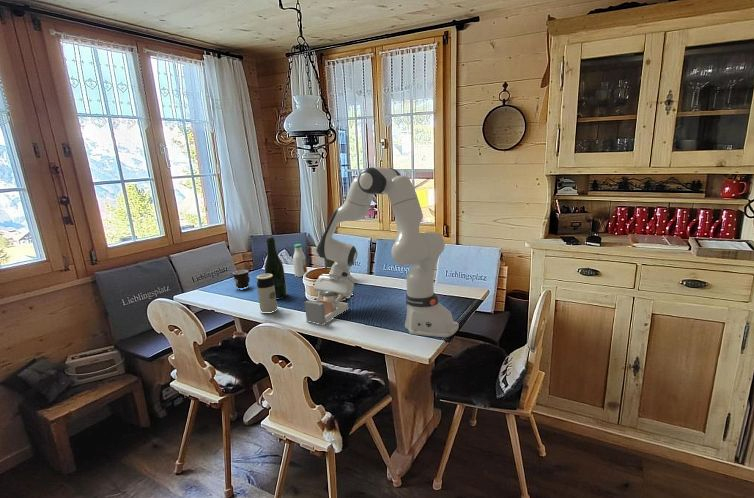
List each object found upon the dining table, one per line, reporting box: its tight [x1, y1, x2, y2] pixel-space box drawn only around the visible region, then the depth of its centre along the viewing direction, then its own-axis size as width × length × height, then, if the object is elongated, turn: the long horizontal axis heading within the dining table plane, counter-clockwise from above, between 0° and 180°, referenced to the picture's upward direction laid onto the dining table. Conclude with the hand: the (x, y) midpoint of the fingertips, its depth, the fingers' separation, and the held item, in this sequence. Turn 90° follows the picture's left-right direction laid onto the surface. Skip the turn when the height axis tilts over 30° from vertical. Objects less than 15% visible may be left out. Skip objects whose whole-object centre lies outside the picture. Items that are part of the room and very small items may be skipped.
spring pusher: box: [317, 299, 333, 315], centre depth 185 cm, size 7×1×7 cm, turn 59°
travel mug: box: [256, 273, 278, 312], centre depth 195 cm, size 8×8×18 cm
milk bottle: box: [292, 243, 308, 278], centre depth 251 cm, size 8×8×20 cm
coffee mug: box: [232, 269, 251, 288], centre depth 233 cm, size 12×9×10 cm
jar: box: [322, 290, 336, 311], centre depth 188 cm, size 6×6×11 cm
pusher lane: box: [304, 300, 350, 325], centre depth 186 cm, size 9×20×10 cm, turn 149°
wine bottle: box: [264, 235, 288, 298], centre depth 213 cm, size 10×10×33 cm
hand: (327, 302), depth 186 cm, fingers open, 8 cm apart
